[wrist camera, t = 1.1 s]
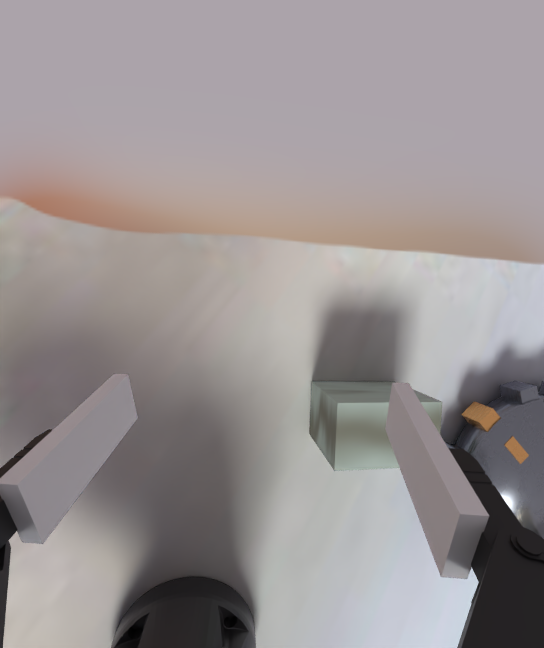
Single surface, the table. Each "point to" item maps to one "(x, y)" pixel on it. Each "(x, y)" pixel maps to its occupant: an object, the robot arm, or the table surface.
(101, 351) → the table surface
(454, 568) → the robot arm
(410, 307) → the table surface
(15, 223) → the table surface
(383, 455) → the link block
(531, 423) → the sprocket wheel
